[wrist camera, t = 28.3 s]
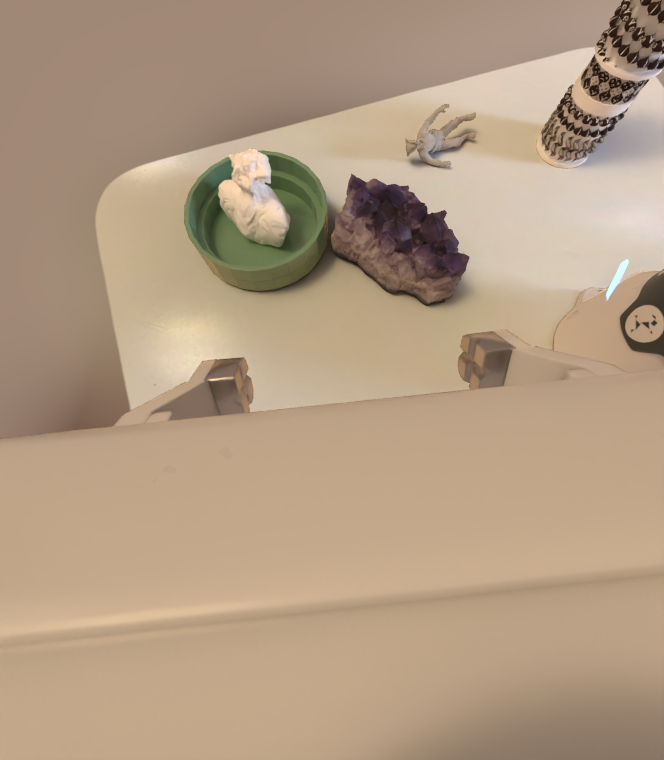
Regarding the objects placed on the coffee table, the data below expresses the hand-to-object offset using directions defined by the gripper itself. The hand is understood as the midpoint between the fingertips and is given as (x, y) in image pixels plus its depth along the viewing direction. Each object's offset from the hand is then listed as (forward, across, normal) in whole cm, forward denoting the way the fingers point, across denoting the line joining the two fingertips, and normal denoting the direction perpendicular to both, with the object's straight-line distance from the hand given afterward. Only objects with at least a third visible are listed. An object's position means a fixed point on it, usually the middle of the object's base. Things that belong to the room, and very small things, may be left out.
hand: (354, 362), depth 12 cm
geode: (+37, -10, +4) cm, 39 cm away
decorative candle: (+50, -40, -9) cm, 65 cm away
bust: (+42, +9, -2) cm, 43 cm away
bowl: (+42, +9, -1) cm, 42 cm away
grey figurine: (+51, -20, -10) cm, 56 cm away
